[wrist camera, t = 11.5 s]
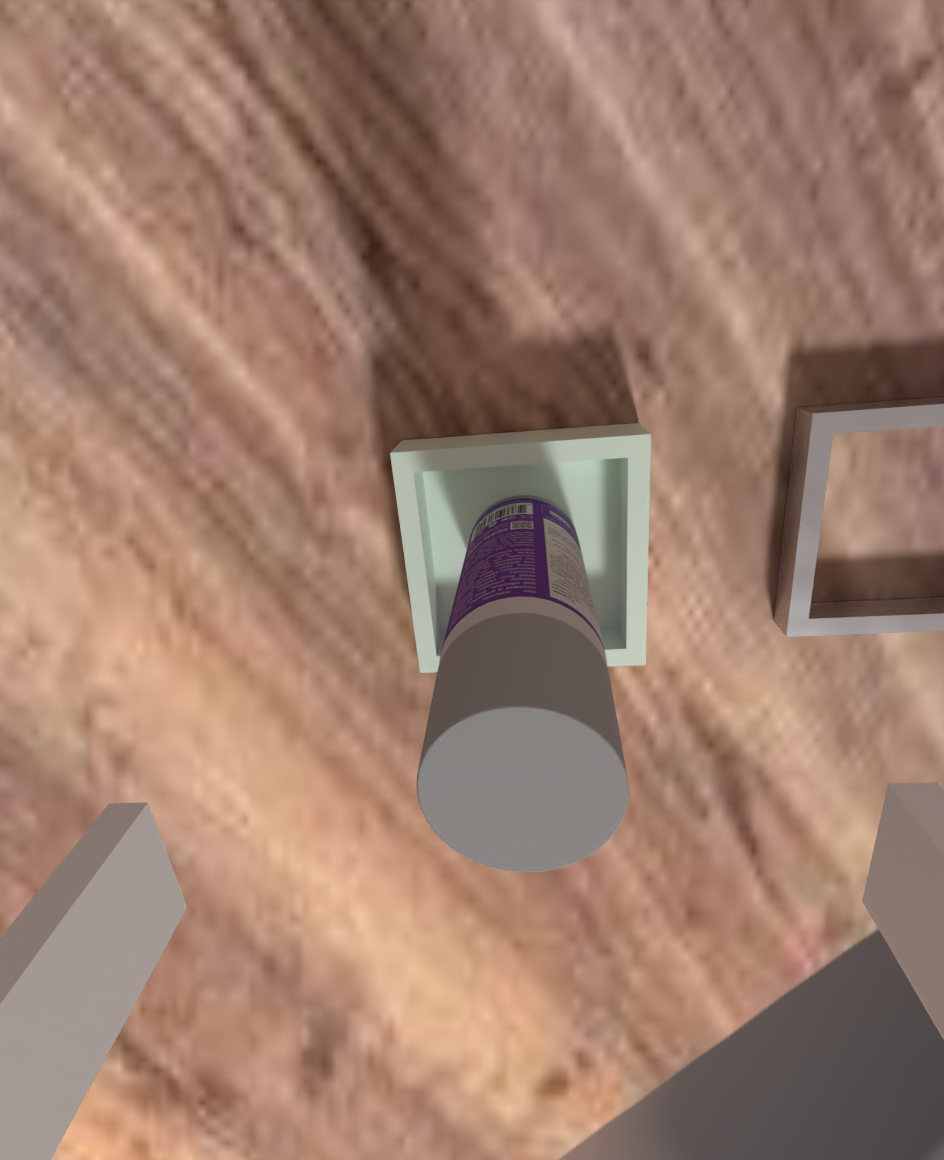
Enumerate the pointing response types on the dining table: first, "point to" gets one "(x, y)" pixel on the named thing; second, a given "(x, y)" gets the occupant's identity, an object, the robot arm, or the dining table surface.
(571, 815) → the container
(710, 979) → the dining table surface
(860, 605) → the collar
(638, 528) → the tray
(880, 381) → the dining table surface
